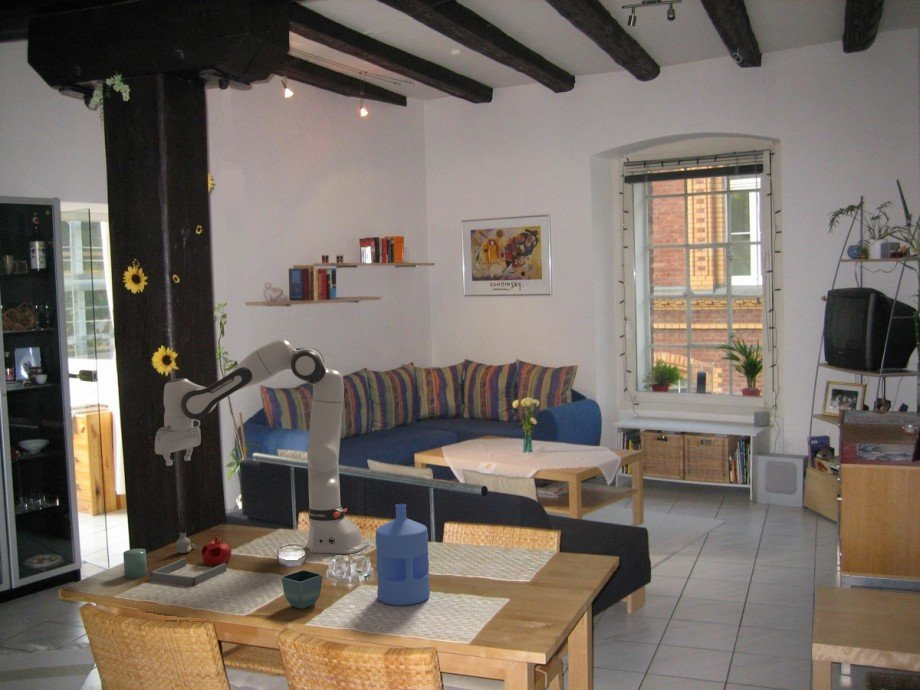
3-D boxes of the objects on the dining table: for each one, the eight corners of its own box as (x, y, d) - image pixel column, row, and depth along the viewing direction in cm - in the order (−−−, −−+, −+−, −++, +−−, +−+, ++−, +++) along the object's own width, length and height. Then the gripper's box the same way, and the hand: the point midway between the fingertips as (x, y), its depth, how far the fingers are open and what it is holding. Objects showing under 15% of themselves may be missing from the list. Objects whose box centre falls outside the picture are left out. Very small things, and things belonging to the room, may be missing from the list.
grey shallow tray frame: (226, 570, 302) (226, 563, 302) (194, 586, 288) (193, 578, 288) (184, 565, 310) (183, 558, 310) (150, 579, 295) (149, 572, 295)
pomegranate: (216, 557, 318) (215, 531, 318) (237, 561, 313) (236, 534, 313) (195, 565, 310) (194, 538, 309) (216, 569, 305) (215, 541, 304)
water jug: (371, 593, 276) (368, 502, 274) (420, 585, 282) (417, 496, 280) (385, 610, 262) (382, 514, 260) (437, 601, 267) (434, 508, 265)
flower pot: (304, 598, 274) (303, 569, 273) (324, 604, 268) (323, 574, 267) (281, 606, 267) (280, 576, 266) (301, 613, 261) (300, 582, 261)
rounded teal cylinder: (151, 573, 302) (150, 549, 302) (136, 579, 296) (134, 555, 295) (135, 571, 305) (134, 547, 304) (119, 577, 299) (118, 553, 298)
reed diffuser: (182, 557, 319) (179, 501, 318) (165, 555, 321) (162, 500, 320) (199, 548, 329) (196, 494, 328) (183, 547, 331) (180, 493, 330)
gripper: (164, 428, 311) (165, 469, 312) (203, 420, 330) (204, 458, 331) (149, 427, 313) (150, 467, 314) (189, 419, 332) (190, 457, 333)
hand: (178, 462), depth 323 cm, fingers open, 8 cm apart
